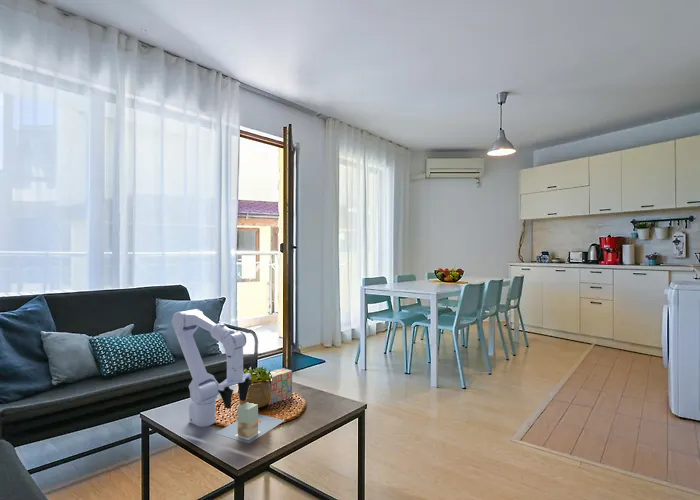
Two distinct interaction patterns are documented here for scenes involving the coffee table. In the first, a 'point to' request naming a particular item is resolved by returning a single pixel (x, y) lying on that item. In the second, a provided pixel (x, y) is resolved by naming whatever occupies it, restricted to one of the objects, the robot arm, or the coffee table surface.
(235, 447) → the coffee table surface
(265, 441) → the coffee table surface
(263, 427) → the board
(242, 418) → the sage block
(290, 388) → the stack of blocks
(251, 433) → the maple block
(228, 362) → the robot arm
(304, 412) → the coffee table surface
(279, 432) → the coffee table surface
